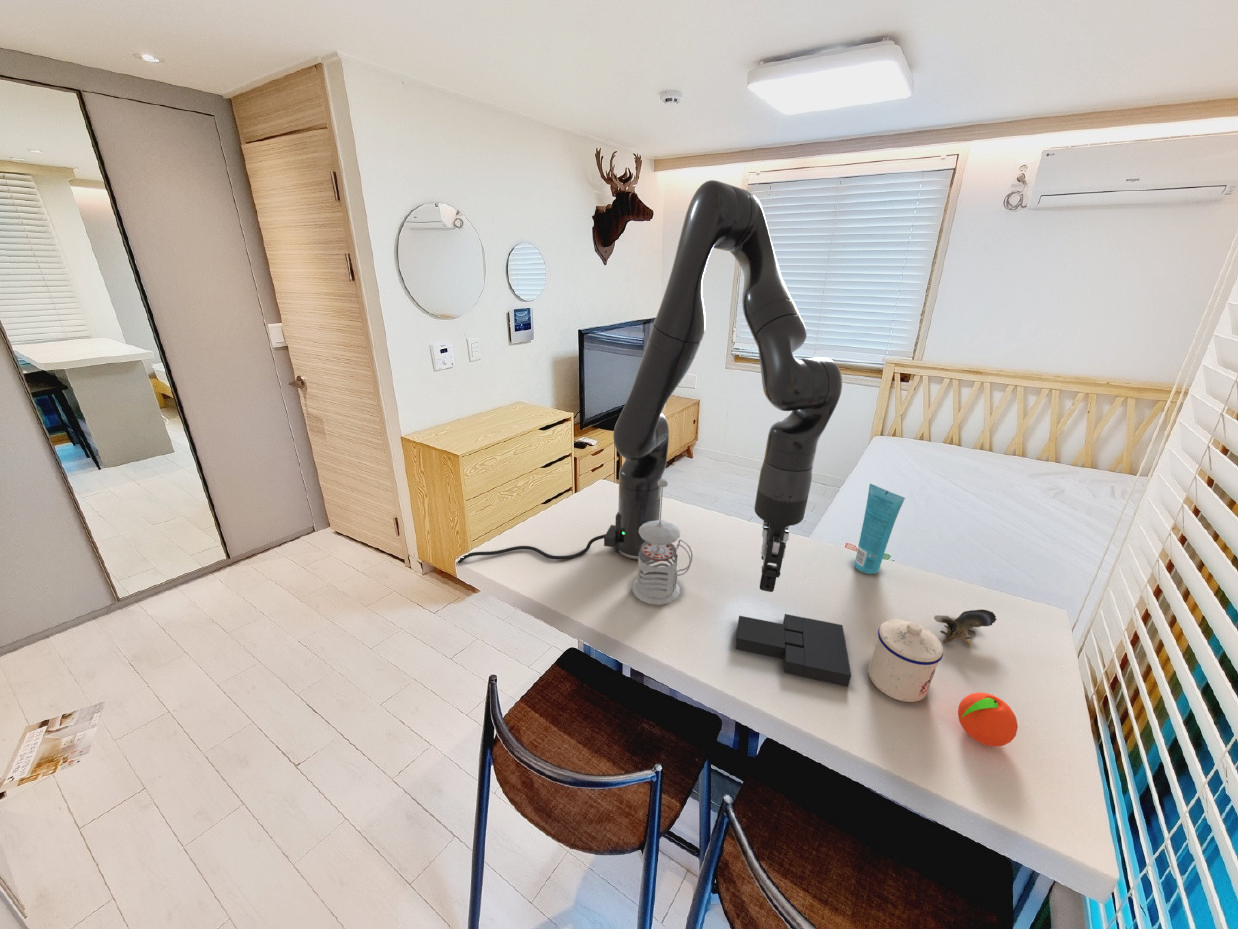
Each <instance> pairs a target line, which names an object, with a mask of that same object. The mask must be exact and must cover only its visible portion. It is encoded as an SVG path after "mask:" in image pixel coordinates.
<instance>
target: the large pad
mask: <svg viewBox="0 0 1238 929" xmlns="http://www.w3.org/2000/svg"><path fill="white" fill-rule="evenodd" d="M782 624H784V627H785V630H786V631H791V632H796V633H801V634H802V637H803V648H800V647H795V646H790V645H785V651H784V656H783V659H782V660H783V673H784V674H787V675H793V676H797V677H802V678H807V679H811V680H816V681H820V682H824V683H829V684H832V685H833V684H834V685H838V686H843V687H847V688H848V687H849V685H850V681H851V677H852V673H851V672H852V671H851V667H850V660H849V654H848V649H847V644H846V638H845V637H846V636H845V632H844V631H845V630H844V626H843V624H839V623H834V622H829V621H824V620H819V619H814V618H808V617H803V616H799V615H798V616H797V615H792V614H788V613H785V614H784V615H783V621H782Z"/></svg>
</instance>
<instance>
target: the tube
mask: <svg viewBox="0 0 1238 929" xmlns="http://www.w3.org/2000/svg"><path fill="white" fill-rule="evenodd" d="M867 493H868V494H867V498H866V499H867V500H866V506H865V511H864V515H863V522H862V526H861V532H860V536H859V541H858V546H857V551H856V554H855V559H854V568H855V569H857V571H859V572H860V573H864V574H867V575H876V574H878V573H879V571H880V568H881V565H882V561H883V560H884V555H885V553H886V549H887V547H888V543H889V541H890V537H891V535H892V532H893V528H894V525H895V524H896V520H897V518H898V515H899V513H900V510H901V508H902V506H903V504H904V501H905V499H906V497H904V496H902V495H899V494H897V493H895V492H891V491H890V490H887V489H885V488H882V487H881V486H878V485H875V484H872V483H869V486H868V492H867Z"/></svg>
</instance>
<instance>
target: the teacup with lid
mask: <svg viewBox="0 0 1238 929" xmlns="http://www.w3.org/2000/svg"><path fill="white" fill-rule="evenodd" d="M873 648H874V649H873V652H872V655H871V659H870V661H869V665H868V668H867V671H868V672H867V673H868V676H869V679H870V681H871V682H872V683H873V685H874V686H875V687H876V688H877V689H878V690H879V691H880V692H881V693H883V694H885V695H886V696H888V697H890V698H891V699H894V700H897V701H900V702H904V703H905V702H906V703H916V702H919V701H922V700H923V699H924V698H925V697H926V696H927V694H928V691H929V689H930V687H931V686H930V685H931V683H932V681H933V678H934V675H935V672H936V670H937V667H938V665H939V662H940V661H942V659H943V656H944V647H943V645H942V643H941V641H940V640H939V638H938V637H937V635H935V634H934V633H933V632H932V631H931V630H929V629H927V628H926V627H924V626H922V625H920V624H919V623H916V622H913V621H909V620H905V619H890V620H887V621H884V622H882V624H881V625H880V626H879V627H878V629H877V639H876V642H875V644H874V647H873Z"/></svg>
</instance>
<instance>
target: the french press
mask: <svg viewBox="0 0 1238 929" xmlns="http://www.w3.org/2000/svg"><path fill="white" fill-rule="evenodd" d="M668 485H669V484H668V480H667V479H665V478H662V479H660V480H659V481H658V486H660V487H661V499H660V516H659V520H657V521H649V522H647V523H644V524H643V525H642V526H641V527H640V528H639V531H638V532H639V534H640V536H641V538H642V539H644V540H645V541H646V542H644V543H643V544H642V545H641V548H640V551H639V557H638V560H637V561H638V562H637V578H636V579H635V581H633V583H632V588H631V591H632V593H633V595H634V596H635V597H636V598H637V599H638V600H639V601H641V602H643V603H646V604H649V605H657V606H662V605H669V604H670V603H672V602H674V601H676V600H677V599H678V597H679V596H680V594H681V593H680V592H681V588H680V586H679V585H678V583H677V580H678V577H679V576H684V575H685V574H687V572H688V571H689V570H690V568H691V565H692V562H693V556H694V554H693V551H692V549H691V546H690V545H689V544H688V543H687V542H686V541H685V540H683V539H680V537H681V530H680V529H679V527H678V526H676V525H675V524H673V523H672V522H668V521H665V520H662V508H663V507H662V506H663V495H664V494H663V493H664V492H663V491H664V488H666V487H668ZM676 541H678V543H677V544H676V546H675V544H673V543H675V542H676ZM681 542H682V543H684V544H685V545H686V546H687V548H688V549H689V551H690V553H689V551H688V550H687V548H685V546H683V545H682V544H681ZM680 548H682V549H684V550H685V552H686V553H687V556H688V559H689V562H688V565H687V567H684V568H681V569H677V565H678V554H677V551H678V550H679V549H680ZM644 556H645V557H646V558H644ZM650 560H651V561H650ZM647 561H649V562H647ZM659 562H660V563H659ZM665 562H667V563H668V564H669V565H668V564H667V563H665ZM656 563H657V564H656ZM653 564H654V565H653ZM682 571H684V572H683V573H679V572H682Z"/></svg>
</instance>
